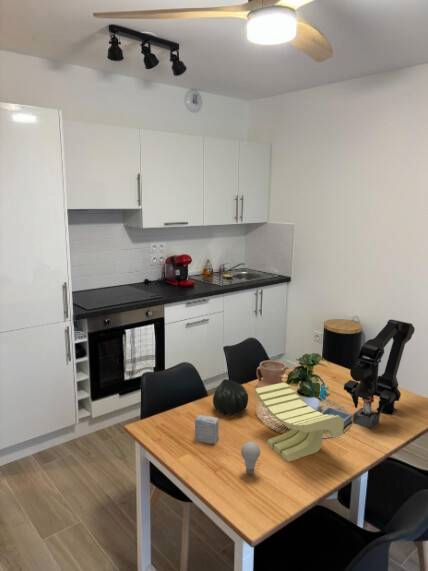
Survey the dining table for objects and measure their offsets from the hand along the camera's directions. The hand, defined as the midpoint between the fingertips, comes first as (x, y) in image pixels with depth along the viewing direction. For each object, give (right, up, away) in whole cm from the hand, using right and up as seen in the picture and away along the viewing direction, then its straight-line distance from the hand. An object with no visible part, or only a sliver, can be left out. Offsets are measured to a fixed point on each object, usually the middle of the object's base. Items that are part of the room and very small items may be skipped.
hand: (367, 411), depth 171 cm
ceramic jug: (-35, 0, +27) cm, 44 cm away
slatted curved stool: (-32, -8, -16) cm, 37 cm away
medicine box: (-64, -7, -13) cm, 66 cm away
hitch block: (0, -5, +1) cm, 5 cm away
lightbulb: (-50, -11, -32) cm, 60 cm away
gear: (-14, -1, +25) cm, 28 cm away
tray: (-13, -5, +1) cm, 14 cm away
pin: (0, -5, +1) cm, 5 cm away
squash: (-55, -3, +9) cm, 56 cm away
